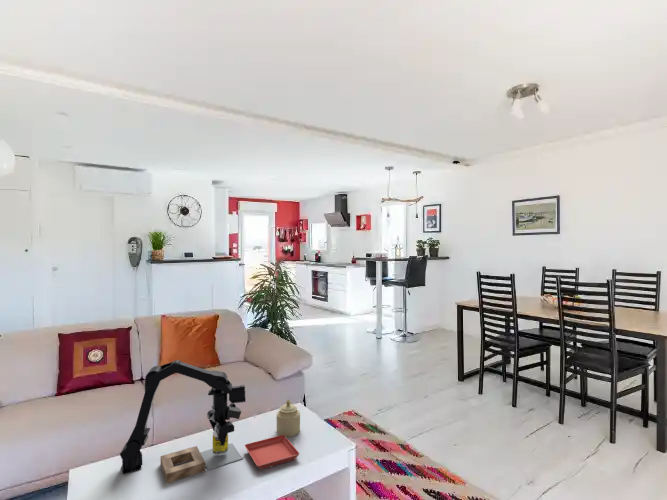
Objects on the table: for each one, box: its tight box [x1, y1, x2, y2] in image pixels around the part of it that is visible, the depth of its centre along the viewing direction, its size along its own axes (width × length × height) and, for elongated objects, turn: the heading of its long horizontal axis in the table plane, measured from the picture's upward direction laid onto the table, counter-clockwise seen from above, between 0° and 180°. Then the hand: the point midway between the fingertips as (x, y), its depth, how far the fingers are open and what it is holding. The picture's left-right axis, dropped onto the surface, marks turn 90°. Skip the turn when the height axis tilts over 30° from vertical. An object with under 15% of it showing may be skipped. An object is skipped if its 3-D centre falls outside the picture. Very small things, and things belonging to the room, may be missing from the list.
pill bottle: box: [212, 424, 229, 455], centre depth 158 cm, size 6×6×11 cm
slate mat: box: [200, 442, 244, 471], centre depth 158 cm, size 14×14×1 cm
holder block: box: [159, 445, 206, 484], centre depth 150 cm, size 14×14×4 cm
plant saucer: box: [244, 435, 300, 470], centre depth 159 cm, size 18×18×3 cm
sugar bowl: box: [276, 399, 301, 438], centre depth 181 cm, size 15×11×15 cm
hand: (220, 441), depth 158 cm, fingers closed on pill bottle, 6 cm apart
